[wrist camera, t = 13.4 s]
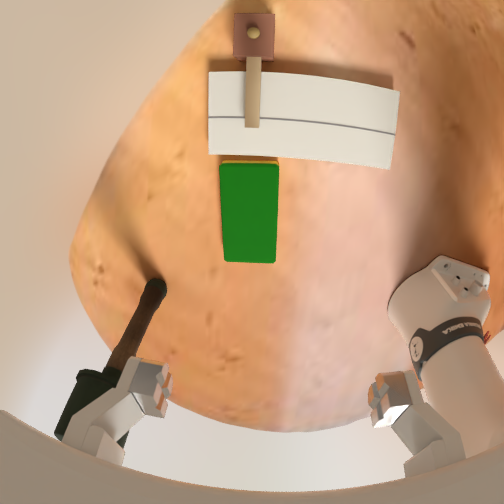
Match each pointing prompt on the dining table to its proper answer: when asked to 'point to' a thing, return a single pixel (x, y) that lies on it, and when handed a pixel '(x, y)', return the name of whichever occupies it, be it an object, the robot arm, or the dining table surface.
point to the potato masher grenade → (113, 359)
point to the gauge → (253, 56)
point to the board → (304, 119)
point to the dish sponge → (249, 210)
